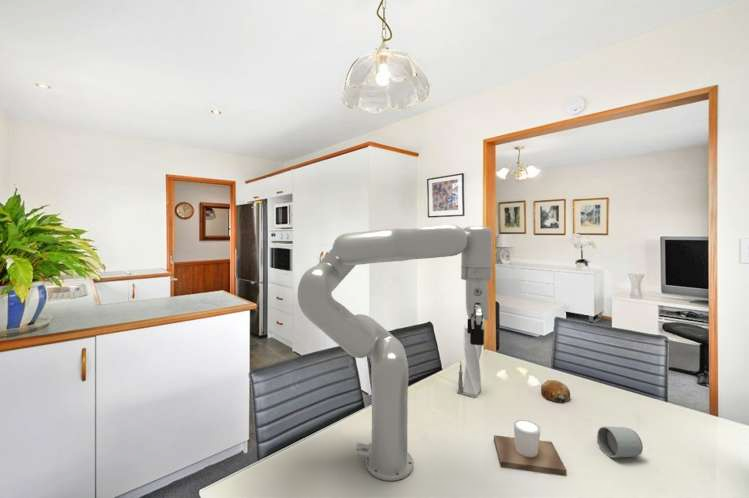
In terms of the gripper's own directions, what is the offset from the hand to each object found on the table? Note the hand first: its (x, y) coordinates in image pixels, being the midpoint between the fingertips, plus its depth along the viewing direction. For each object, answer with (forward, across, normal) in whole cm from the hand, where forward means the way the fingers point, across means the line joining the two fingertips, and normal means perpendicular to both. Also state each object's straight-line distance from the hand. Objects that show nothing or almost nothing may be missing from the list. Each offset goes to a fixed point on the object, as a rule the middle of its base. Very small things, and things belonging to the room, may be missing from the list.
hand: (475, 338), depth 88 cm
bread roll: (+35, +46, -34) cm, 67 cm away
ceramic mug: (+34, +14, -40) cm, 55 cm away
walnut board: (+34, +7, -15) cm, 38 cm away
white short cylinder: (+33, +7, -15) cm, 37 cm away
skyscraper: (+34, +44, -3) cm, 56 cm away
